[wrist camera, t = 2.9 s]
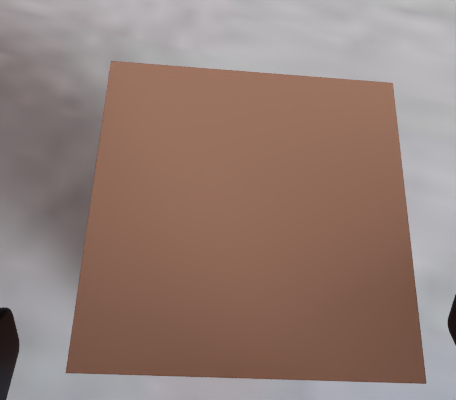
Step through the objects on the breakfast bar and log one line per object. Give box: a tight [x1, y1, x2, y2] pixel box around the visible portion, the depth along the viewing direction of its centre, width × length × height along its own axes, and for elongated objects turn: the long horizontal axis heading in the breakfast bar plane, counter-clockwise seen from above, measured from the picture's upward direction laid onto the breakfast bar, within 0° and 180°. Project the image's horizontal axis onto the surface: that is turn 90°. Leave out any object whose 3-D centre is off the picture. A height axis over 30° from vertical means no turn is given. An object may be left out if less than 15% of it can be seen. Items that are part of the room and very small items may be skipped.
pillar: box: [66, 61, 426, 384], centre depth 12 cm, size 4×4×12 cm
